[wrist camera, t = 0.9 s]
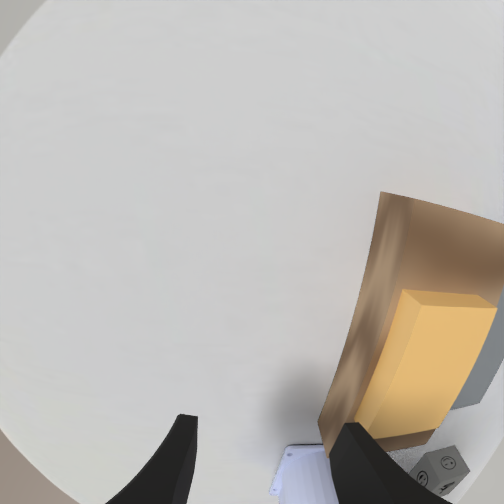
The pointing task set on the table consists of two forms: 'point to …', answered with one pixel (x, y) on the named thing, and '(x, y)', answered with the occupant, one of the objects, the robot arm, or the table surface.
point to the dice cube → (440, 470)
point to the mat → (484, 362)
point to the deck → (411, 278)
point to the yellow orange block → (424, 361)
